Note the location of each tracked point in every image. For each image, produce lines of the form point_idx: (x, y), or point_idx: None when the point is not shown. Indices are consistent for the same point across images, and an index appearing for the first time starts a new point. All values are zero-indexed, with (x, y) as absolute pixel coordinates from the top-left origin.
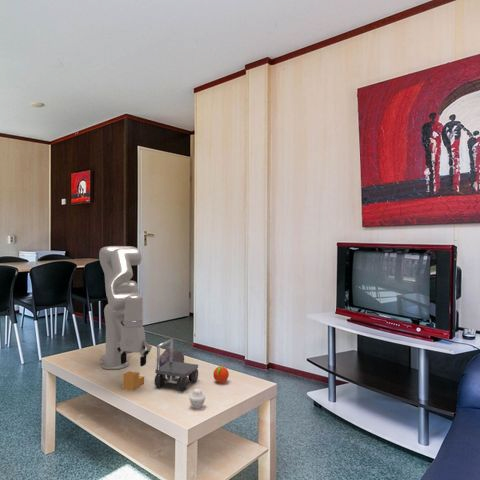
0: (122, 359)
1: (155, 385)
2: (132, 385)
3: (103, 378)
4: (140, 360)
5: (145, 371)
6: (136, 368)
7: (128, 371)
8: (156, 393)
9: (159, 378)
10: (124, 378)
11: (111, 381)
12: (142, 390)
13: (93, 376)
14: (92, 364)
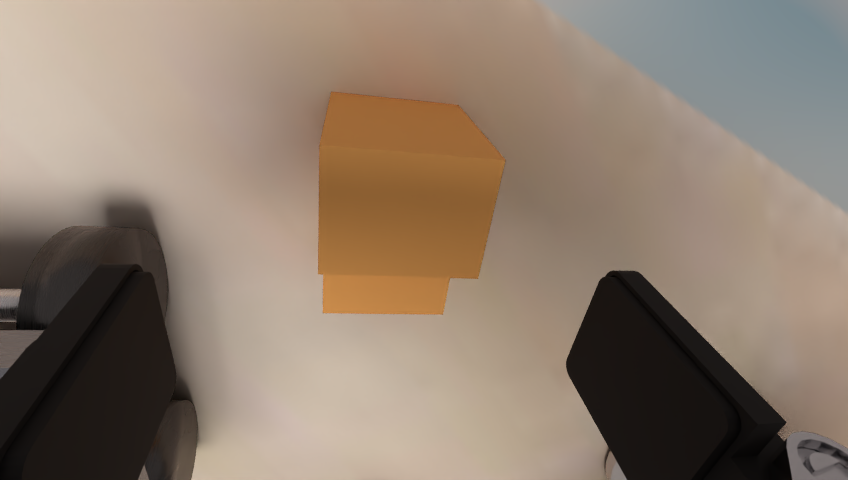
0: (657, 333)
1: (137, 229)
2: (340, 107)
3: (715, 260)
4: (72, 367)
5: (451, 441)
6: (534, 454)
7: (478, 264)
8: (26, 98)
9: (33, 278)
10: (470, 138)
11: (633, 229)
12: (241, 130)
13: (800, 268)
14: (831, 413)
